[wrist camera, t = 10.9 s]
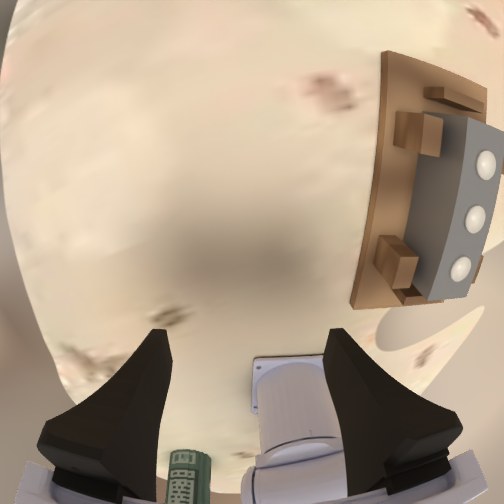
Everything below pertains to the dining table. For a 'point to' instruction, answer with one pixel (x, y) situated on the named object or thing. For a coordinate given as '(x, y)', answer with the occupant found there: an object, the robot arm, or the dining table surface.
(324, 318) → the dining table surface
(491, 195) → the power strip
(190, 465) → the can
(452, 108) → the rack
